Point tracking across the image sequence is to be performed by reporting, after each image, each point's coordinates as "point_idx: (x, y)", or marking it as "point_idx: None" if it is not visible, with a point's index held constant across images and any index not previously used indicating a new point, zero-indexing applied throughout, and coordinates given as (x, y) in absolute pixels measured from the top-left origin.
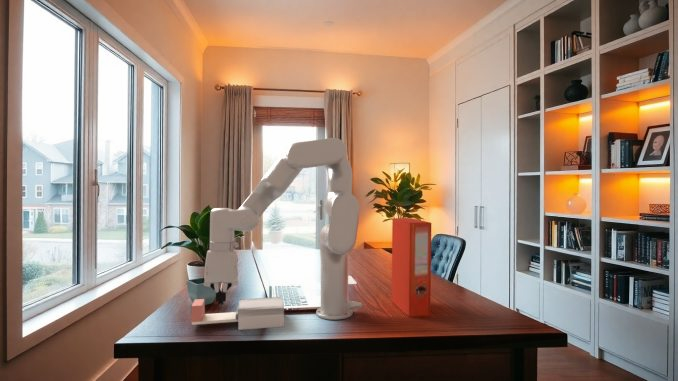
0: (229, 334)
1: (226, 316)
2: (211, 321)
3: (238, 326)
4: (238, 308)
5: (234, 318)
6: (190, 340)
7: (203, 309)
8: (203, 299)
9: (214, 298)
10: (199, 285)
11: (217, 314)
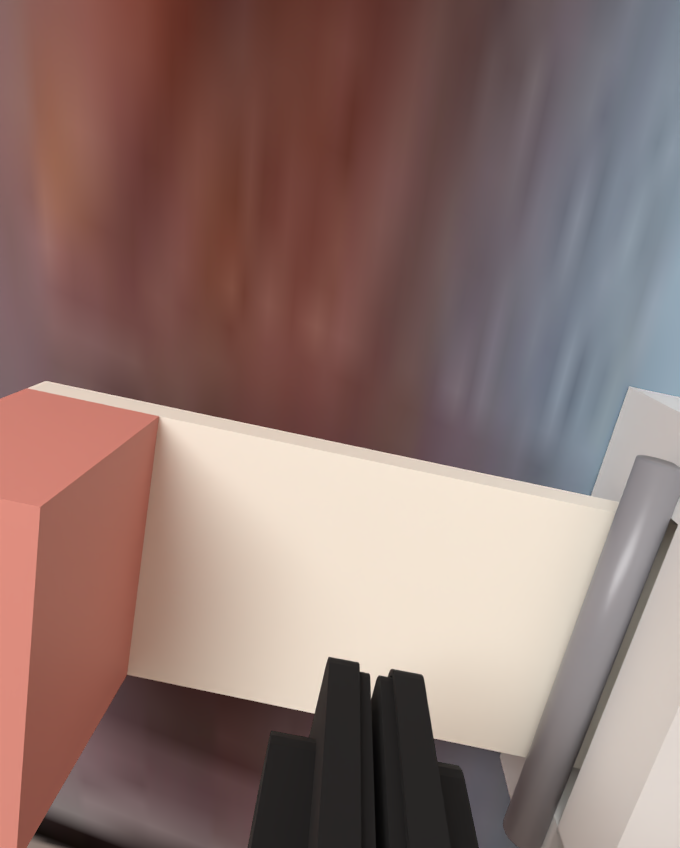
0: None
1: (428, 628)
2: (236, 689)
3: (508, 786)
4: (644, 566)
5: (504, 733)
6: (68, 800)
7: (98, 592)
8: (20, 536)
9: None
10: None
11: (328, 506)
